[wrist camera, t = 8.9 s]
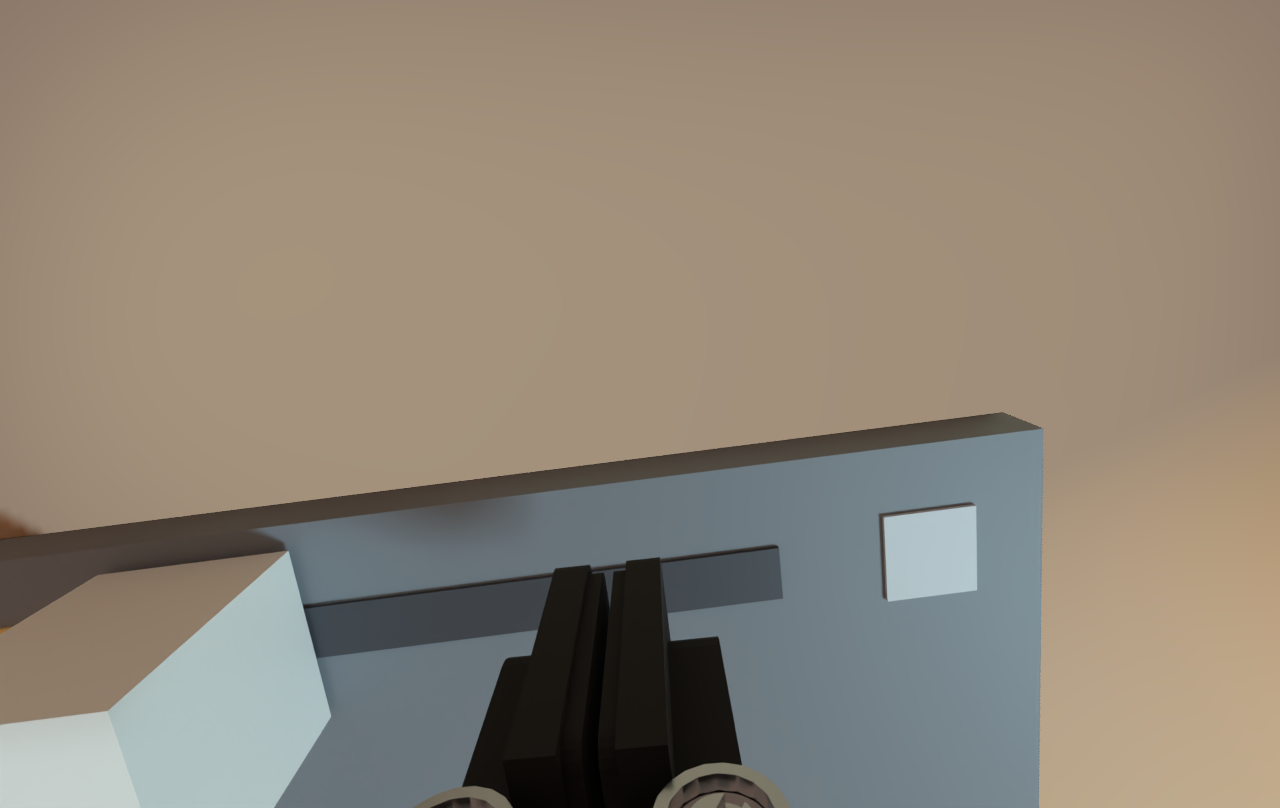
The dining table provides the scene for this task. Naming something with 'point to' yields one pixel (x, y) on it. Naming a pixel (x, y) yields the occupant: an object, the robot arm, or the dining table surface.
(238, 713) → the tab
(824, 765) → the switch panel
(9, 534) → the dining table surface
